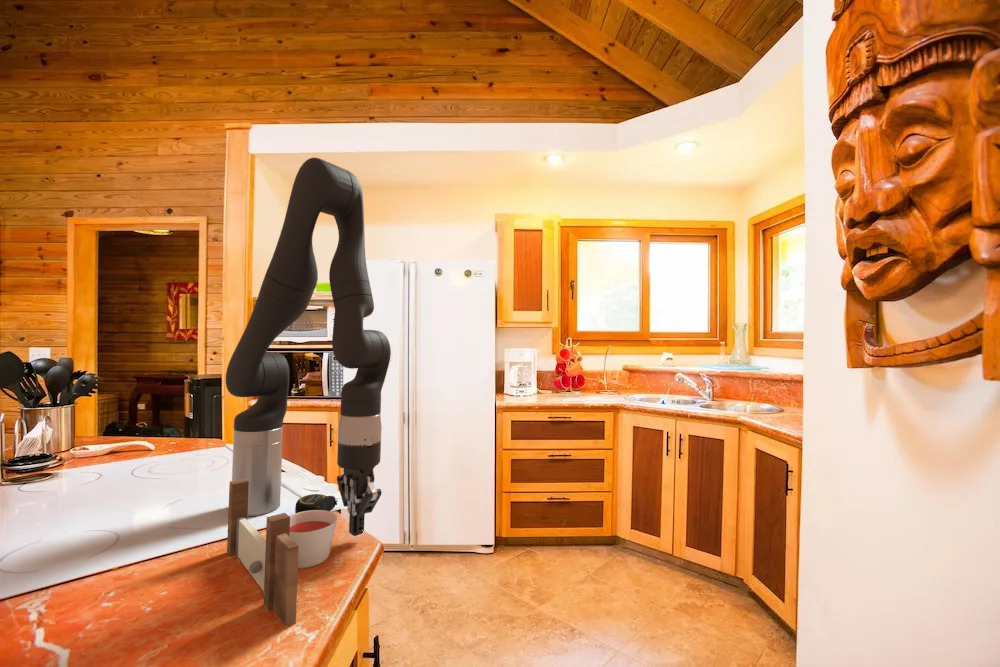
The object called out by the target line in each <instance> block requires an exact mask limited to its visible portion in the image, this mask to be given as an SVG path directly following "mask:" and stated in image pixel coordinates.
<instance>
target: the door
mask: <svg viewBox="0 0 1000 667" xmlns="http://www.w3.org/2000/svg"><path fill="white" fill-rule="evenodd" d="M265 551H266V538H265V537H263V535H262V534H261V533H260V532H259V531H258V530H257V529H256V528H255V526H253V524H252V523H251V522H250V520H248V518H247V519H245V518H239V519H237V535H236V555H235V557H236V558H238V559H239V560H240V561H241V563H242V565H243V566H244V567H245V568H246V570H247V571H248V573H249V574H250V575H251V577H252V578H253V579H254V581H255V582H256V583H257V585H258V586H259V587H260V589H261V590H262V592H264V577H265Z"/></svg>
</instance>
